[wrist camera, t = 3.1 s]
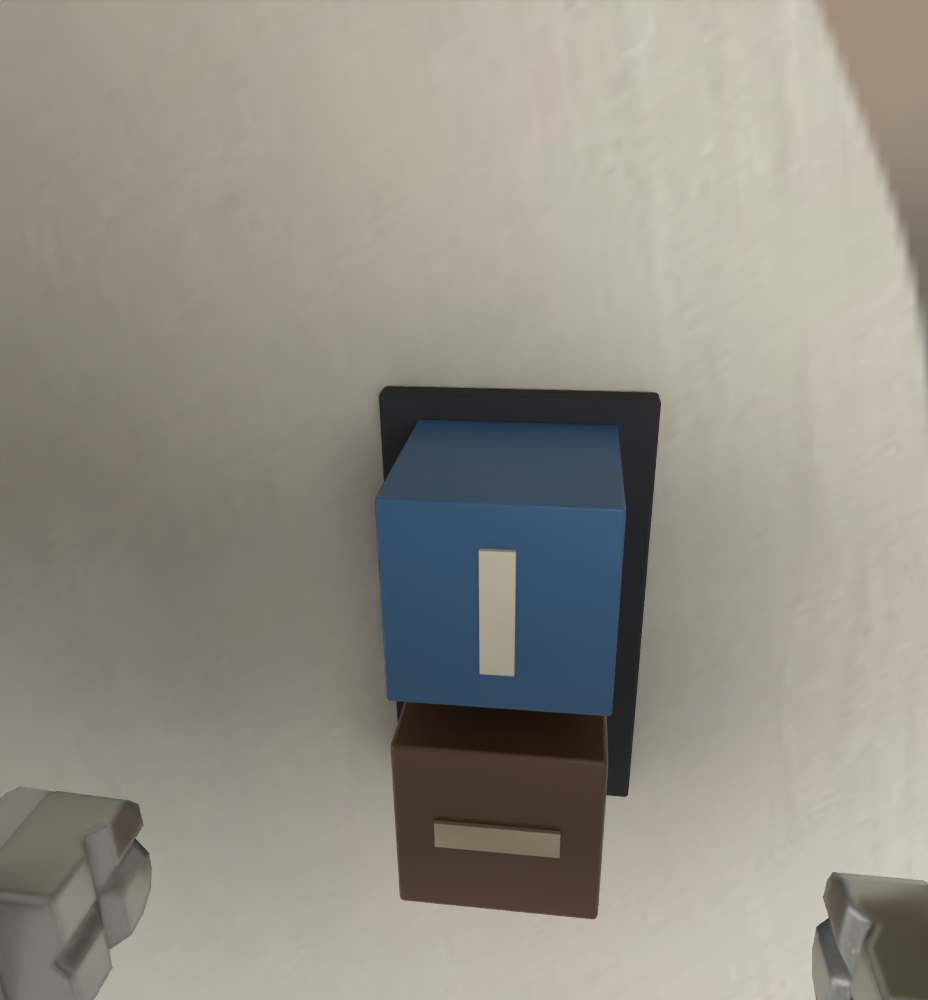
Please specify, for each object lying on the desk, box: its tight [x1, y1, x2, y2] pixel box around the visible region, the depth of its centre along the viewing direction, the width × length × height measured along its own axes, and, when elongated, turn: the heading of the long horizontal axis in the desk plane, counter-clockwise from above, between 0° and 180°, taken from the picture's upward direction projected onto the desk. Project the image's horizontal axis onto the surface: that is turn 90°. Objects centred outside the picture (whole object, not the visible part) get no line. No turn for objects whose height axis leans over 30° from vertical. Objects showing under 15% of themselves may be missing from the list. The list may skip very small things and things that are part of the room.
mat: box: [379, 386, 661, 797], centre depth 19 cm, size 10×6×1 cm, turn 1°
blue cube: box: [375, 419, 626, 716], centre depth 16 cm, size 4×4×4 cm
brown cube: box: [391, 702, 608, 919], centre depth 18 cm, size 4×4×4 cm
